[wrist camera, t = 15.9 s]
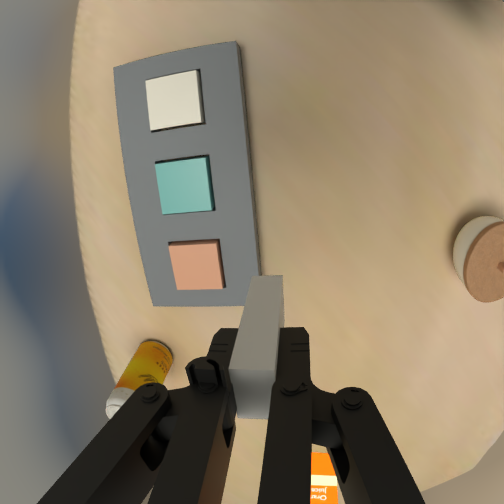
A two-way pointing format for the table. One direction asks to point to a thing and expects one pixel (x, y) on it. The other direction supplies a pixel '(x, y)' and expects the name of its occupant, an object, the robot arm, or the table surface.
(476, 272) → the lidded jar
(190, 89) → the cream button
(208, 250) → the terracotta button
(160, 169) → the teal button
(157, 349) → the beer can
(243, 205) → the panel
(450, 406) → the table surface
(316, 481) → the orange juice
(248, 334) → the robot arm
